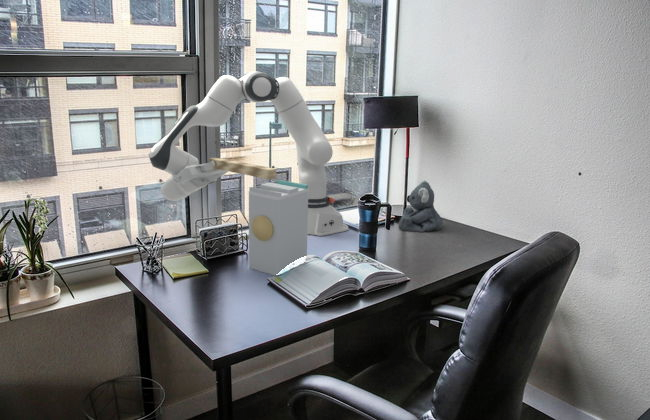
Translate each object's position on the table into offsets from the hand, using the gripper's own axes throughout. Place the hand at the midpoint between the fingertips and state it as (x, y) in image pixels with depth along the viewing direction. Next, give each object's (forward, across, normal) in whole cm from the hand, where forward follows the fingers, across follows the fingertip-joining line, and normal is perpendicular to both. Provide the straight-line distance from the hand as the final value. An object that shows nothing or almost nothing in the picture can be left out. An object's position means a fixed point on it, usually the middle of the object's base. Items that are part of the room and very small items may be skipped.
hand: (219, 162), depth 181 cm
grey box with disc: (+2, +5, +39) cm, 40 cm away
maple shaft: (+7, 0, +7) cm, 10 cm away
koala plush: (+20, +77, +50) cm, 94 cm away
